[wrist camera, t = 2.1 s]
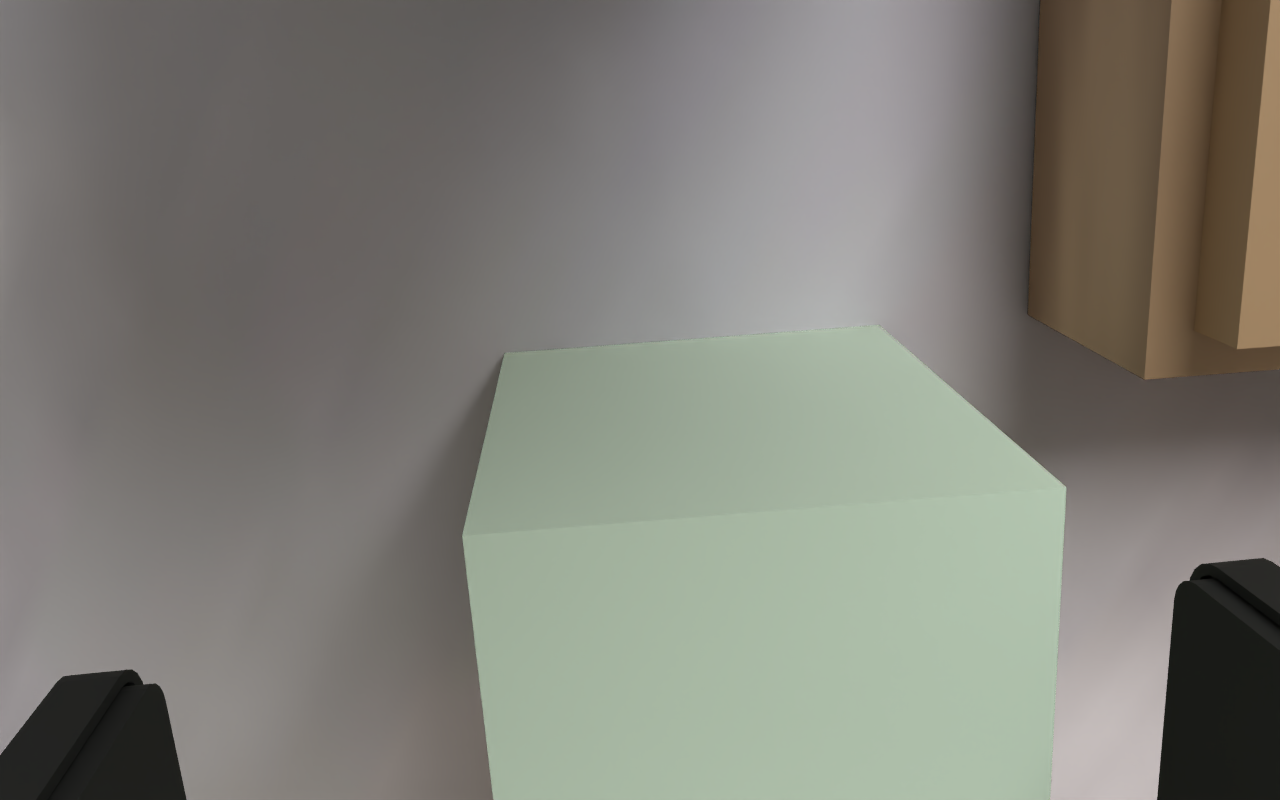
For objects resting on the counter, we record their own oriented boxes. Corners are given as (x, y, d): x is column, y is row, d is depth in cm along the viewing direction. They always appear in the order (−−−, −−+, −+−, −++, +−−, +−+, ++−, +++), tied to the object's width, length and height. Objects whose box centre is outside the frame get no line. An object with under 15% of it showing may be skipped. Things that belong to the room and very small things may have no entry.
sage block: (878, 323, 15) (1065, 486, 9) (878, 655, 17) (1041, 972, 11) (504, 351, 15) (462, 535, 9) (538, 684, 16) (519, 1023, 11)
